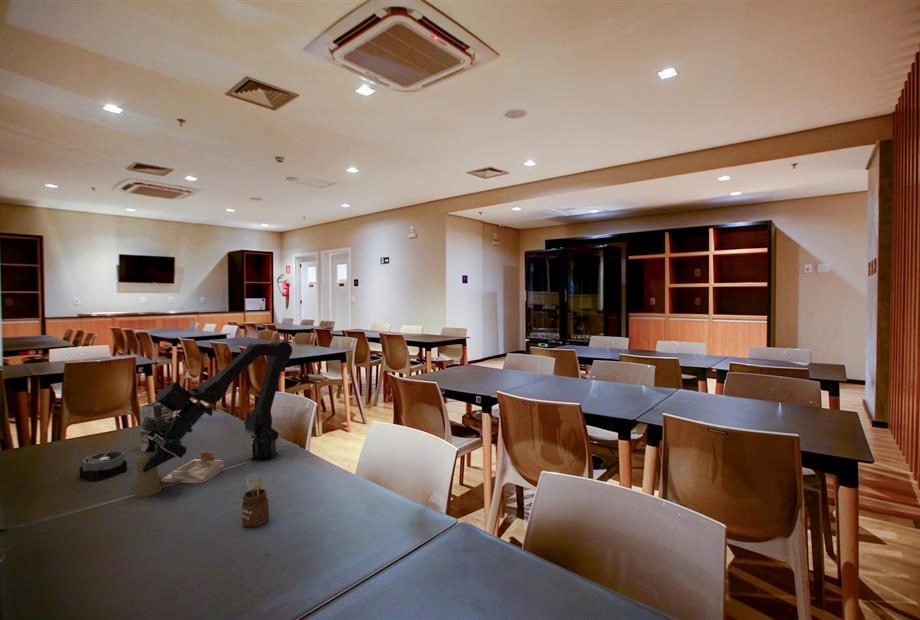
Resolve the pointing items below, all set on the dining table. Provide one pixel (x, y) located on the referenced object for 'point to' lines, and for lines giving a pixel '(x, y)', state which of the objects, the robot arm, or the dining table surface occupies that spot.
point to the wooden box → (196, 470)
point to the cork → (146, 477)
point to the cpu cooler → (103, 466)
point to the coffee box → (153, 411)
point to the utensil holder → (255, 505)
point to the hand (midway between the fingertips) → (141, 468)
